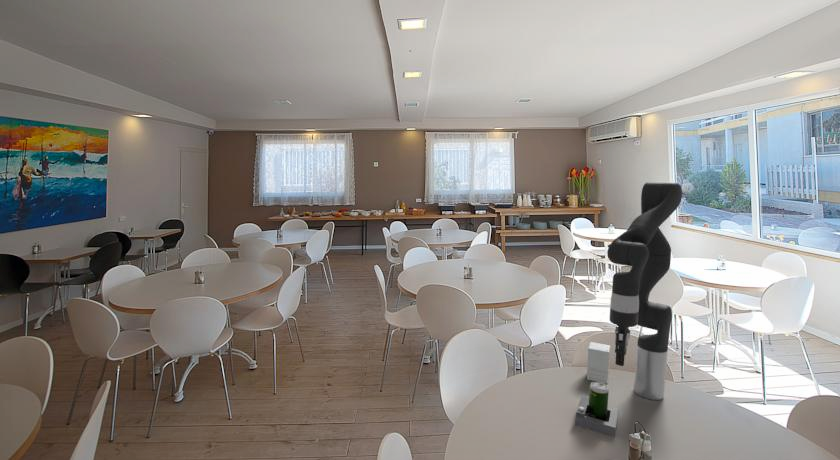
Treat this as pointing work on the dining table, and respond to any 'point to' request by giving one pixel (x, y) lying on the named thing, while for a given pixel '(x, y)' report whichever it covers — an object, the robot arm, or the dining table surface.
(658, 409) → the dining table surface
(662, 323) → the robot arm
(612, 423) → the grey square frame
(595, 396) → the beer can
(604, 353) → the supplement box
